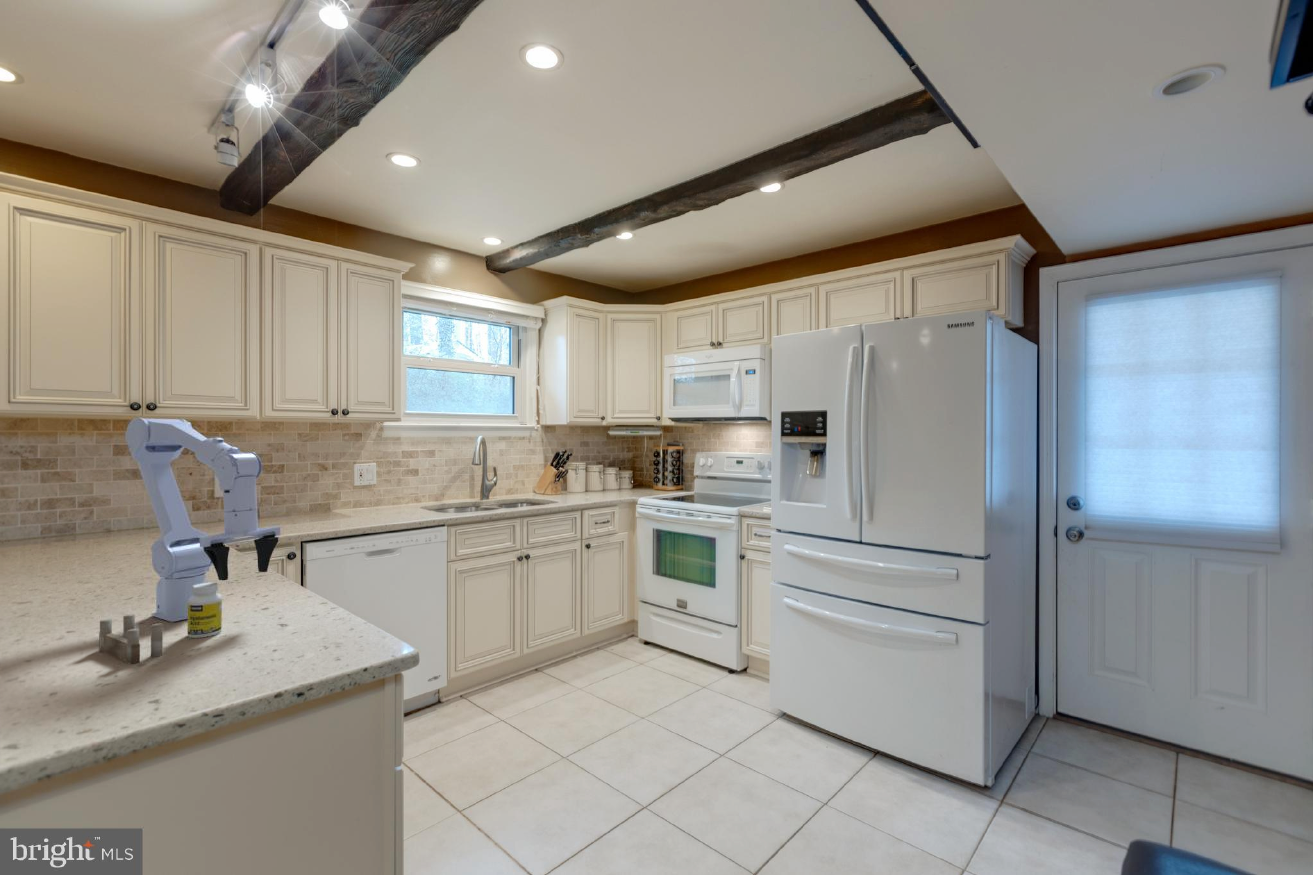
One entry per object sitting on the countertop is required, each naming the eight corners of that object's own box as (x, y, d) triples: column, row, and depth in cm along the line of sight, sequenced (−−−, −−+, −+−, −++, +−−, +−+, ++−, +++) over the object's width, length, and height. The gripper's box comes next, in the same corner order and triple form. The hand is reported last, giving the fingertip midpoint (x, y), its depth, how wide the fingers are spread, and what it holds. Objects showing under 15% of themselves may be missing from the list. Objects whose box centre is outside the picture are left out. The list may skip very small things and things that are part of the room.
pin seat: (97, 650, 108) (97, 620, 108) (131, 642, 112) (131, 613, 112) (130, 664, 102) (130, 632, 102) (165, 655, 106) (165, 624, 106)
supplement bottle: (184, 640, 114) (184, 589, 114) (191, 631, 118) (191, 583, 118) (218, 636, 116) (219, 586, 116) (224, 627, 121) (224, 580, 121)
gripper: (211, 515, 115) (214, 584, 115) (287, 506, 128) (290, 569, 128) (192, 514, 118) (195, 582, 118) (268, 506, 131) (271, 567, 131)
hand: (243, 575), depth 123 cm, fingers open, 7 cm apart
